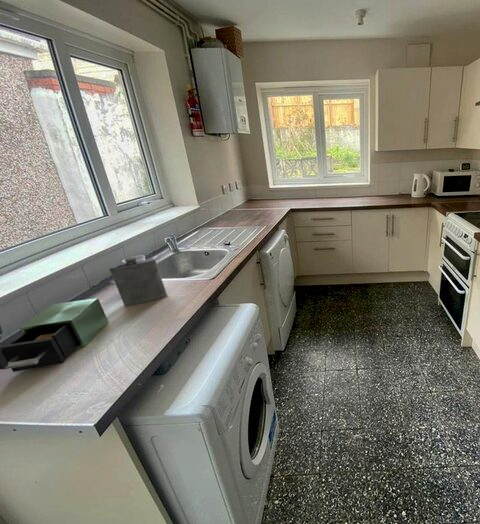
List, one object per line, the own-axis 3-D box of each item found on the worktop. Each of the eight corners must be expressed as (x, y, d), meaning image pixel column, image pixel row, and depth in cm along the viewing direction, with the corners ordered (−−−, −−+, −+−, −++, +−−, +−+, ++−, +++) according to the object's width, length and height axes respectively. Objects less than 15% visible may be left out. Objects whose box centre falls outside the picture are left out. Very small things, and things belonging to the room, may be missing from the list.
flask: (166, 297, 113) (152, 255, 106) (123, 307, 107) (104, 263, 101) (167, 294, 116) (153, 252, 109) (125, 303, 111) (107, 260, 104)
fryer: (84, 346, 86) (71, 320, 83) (35, 355, 84) (19, 327, 80) (108, 322, 99) (98, 297, 95) (66, 328, 96) (53, 304, 92)
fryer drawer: (52, 374, 75) (38, 350, 72) (-1, 384, 72) (-18, 359, 69) (89, 336, 90) (79, 315, 87) (47, 343, 88) (35, 321, 85)
